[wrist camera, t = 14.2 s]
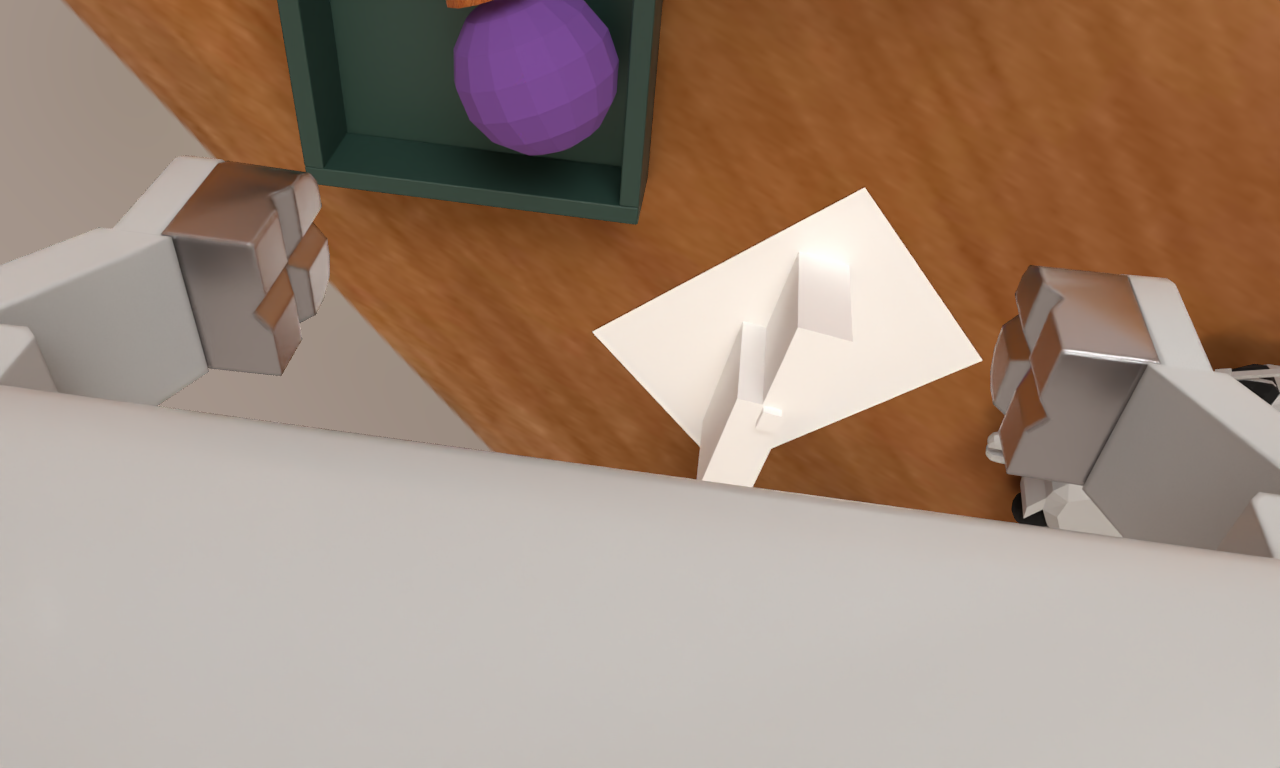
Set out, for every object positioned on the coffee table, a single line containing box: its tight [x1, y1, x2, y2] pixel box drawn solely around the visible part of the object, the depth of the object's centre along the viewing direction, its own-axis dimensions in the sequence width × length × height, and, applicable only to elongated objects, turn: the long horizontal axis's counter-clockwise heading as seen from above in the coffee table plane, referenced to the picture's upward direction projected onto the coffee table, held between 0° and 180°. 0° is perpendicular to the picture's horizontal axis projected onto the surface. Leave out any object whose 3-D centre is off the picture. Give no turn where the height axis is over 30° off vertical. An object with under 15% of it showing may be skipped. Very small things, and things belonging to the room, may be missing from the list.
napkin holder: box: [593, 188, 982, 487], centre depth 48 cm, size 15×11×6 cm
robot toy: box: [986, 364, 1280, 538], centre depth 50 cm, size 12×4×15 cm
